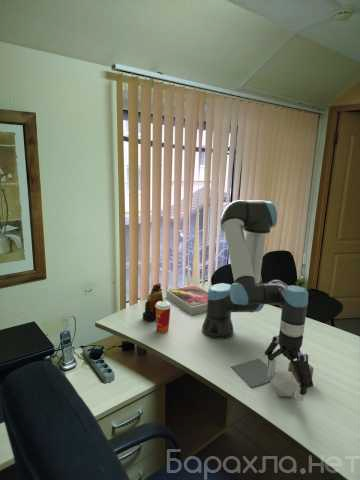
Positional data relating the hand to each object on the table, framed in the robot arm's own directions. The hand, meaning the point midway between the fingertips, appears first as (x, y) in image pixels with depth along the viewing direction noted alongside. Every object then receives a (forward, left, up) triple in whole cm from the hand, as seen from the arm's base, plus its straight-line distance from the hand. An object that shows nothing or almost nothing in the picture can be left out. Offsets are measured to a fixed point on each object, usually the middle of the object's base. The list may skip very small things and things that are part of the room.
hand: (284, 387), depth 104 cm
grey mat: (-13, -2, -2) cm, 13 cm away
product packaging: (-82, +6, -3) cm, 82 cm away
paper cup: (-56, -24, -2) cm, 61 cm away
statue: (-70, -25, -2) cm, 74 cm away
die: (0, 0, -2) cm, 2 cm away
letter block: (-4, +12, -2) cm, 12 cm away
